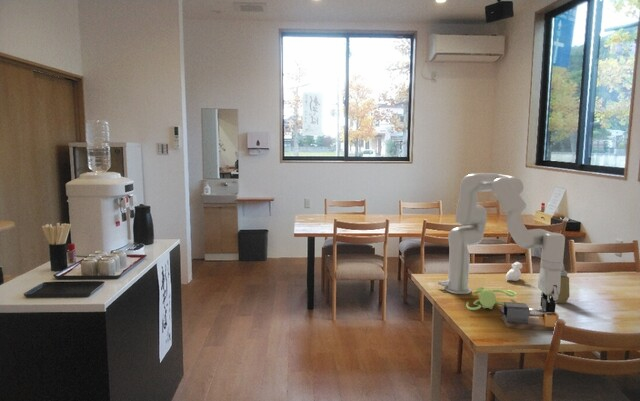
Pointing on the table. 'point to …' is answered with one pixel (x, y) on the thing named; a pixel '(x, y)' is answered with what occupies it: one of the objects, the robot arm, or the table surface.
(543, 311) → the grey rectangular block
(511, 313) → the grey sleeve
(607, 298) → the table surface
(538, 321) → the walnut board
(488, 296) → the figurine
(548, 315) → the orange socket
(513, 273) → the bust
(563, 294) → the squeeze bottle
